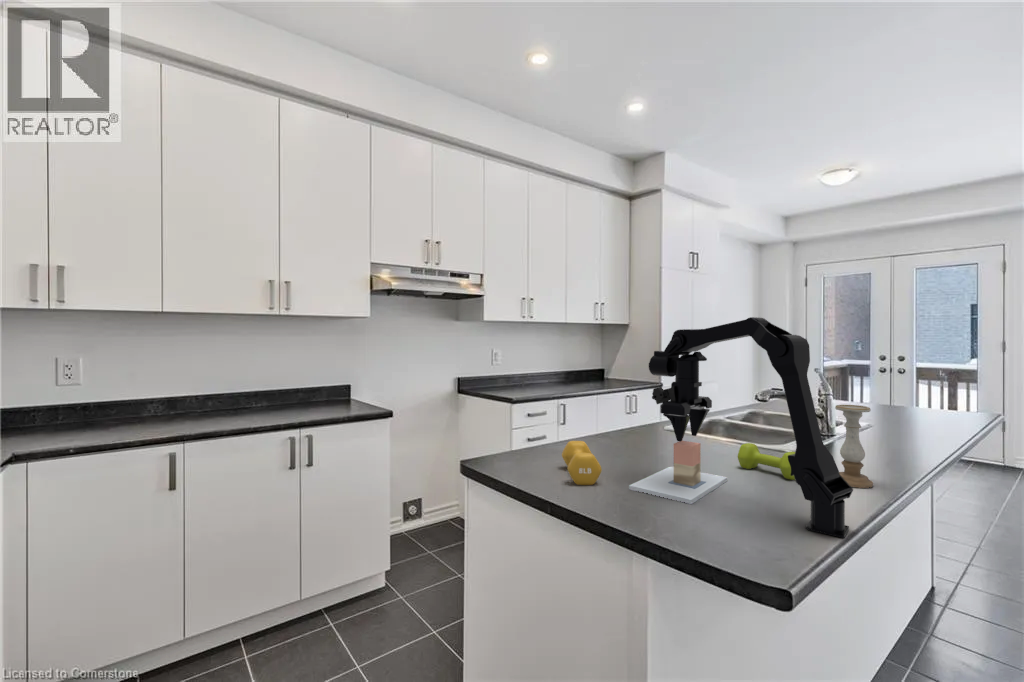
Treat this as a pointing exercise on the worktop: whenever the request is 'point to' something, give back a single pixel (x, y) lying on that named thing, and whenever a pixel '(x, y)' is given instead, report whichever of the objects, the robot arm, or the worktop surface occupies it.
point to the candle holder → (853, 447)
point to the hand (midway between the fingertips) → (686, 438)
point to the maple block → (687, 474)
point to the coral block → (687, 453)
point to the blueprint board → (677, 486)
